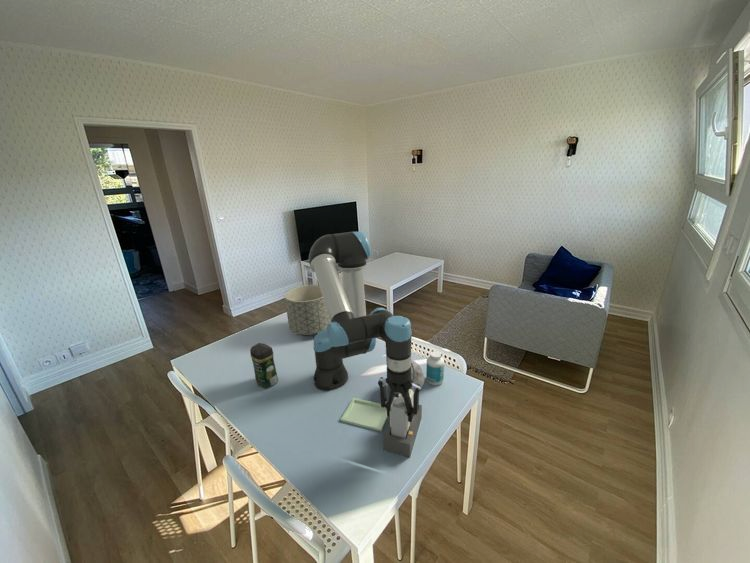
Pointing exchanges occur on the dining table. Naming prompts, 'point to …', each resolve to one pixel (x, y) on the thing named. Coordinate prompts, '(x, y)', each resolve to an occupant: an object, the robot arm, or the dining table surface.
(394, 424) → the plug
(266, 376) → the coffee jar
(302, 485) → the dining table surface
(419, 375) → the decorative orb
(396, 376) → the robot arm
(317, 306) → the planter
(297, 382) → the dining table surface
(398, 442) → the charging dock
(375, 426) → the tray
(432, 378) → the pill bottle
